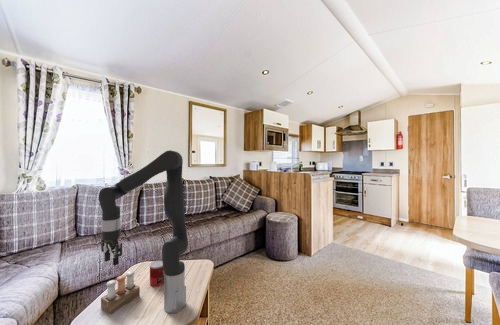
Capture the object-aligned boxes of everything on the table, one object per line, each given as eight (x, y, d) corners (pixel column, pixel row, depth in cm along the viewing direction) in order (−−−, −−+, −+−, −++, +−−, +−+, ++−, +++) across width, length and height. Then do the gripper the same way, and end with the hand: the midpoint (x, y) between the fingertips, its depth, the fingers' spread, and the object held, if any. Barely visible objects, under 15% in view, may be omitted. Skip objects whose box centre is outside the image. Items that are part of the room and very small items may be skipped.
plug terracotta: (127, 294, 101) (127, 276, 101) (119, 298, 98) (119, 280, 98) (122, 291, 103) (122, 274, 103) (114, 296, 100) (114, 278, 100)
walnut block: (139, 296, 105) (139, 286, 105) (110, 314, 93) (110, 303, 92) (130, 291, 109) (130, 282, 109) (101, 308, 96) (101, 297, 96)
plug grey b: (136, 289, 105) (136, 272, 105) (128, 293, 102) (128, 275, 102) (131, 286, 107) (131, 270, 107) (124, 290, 104) (124, 273, 104)
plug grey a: (117, 299, 97) (117, 281, 97) (109, 304, 94) (109, 285, 94) (113, 296, 99) (113, 279, 99) (104, 301, 96) (104, 283, 96)
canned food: (159, 287, 112) (159, 268, 112) (146, 285, 113) (146, 266, 113) (167, 279, 119) (167, 261, 119) (155, 278, 121) (155, 259, 121)
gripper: (128, 228, 96) (128, 263, 96) (111, 223, 103) (111, 255, 103) (111, 233, 89) (111, 270, 89) (94, 227, 96) (94, 262, 96)
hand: (111, 262), depth 96 cm, fingers open, 6 cm apart
